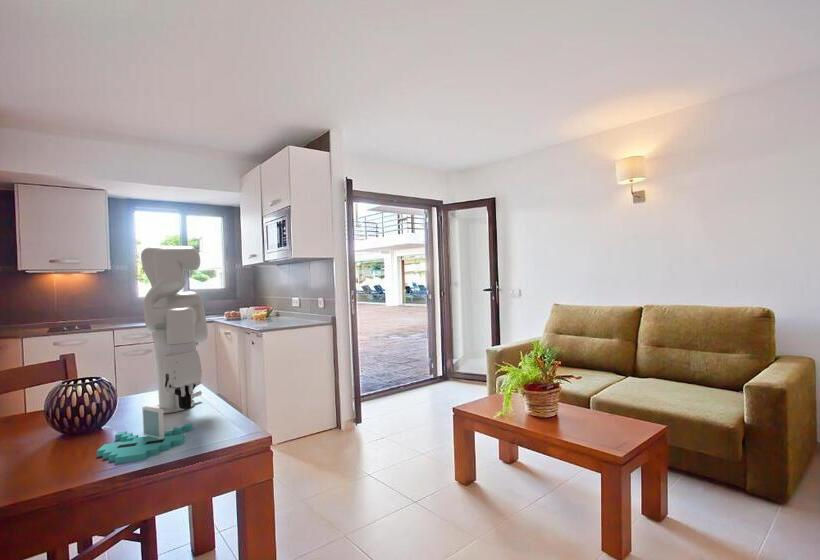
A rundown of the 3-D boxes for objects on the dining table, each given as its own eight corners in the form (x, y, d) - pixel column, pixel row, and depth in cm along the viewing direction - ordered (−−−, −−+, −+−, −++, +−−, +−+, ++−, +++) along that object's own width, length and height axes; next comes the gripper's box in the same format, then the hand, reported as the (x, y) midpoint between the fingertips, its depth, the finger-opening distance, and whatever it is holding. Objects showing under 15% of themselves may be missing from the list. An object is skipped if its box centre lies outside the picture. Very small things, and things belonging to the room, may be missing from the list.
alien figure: (118, 439, 122) (84, 470, 103) (118, 432, 122) (84, 461, 103) (193, 430, 127) (173, 458, 108) (192, 423, 127) (173, 449, 108)
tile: (147, 433, 120) (146, 406, 120) (164, 437, 117) (163, 409, 116) (143, 435, 119) (141, 407, 119) (160, 439, 115) (158, 410, 115)
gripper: (195, 343, 134) (199, 399, 134) (149, 352, 121) (153, 414, 121) (211, 344, 131) (214, 401, 131) (165, 353, 117) (169, 417, 118)
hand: (185, 407), depth 126 cm, fingers closed
